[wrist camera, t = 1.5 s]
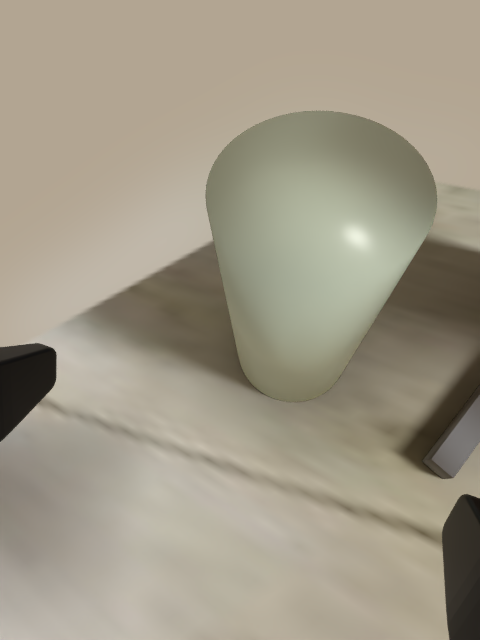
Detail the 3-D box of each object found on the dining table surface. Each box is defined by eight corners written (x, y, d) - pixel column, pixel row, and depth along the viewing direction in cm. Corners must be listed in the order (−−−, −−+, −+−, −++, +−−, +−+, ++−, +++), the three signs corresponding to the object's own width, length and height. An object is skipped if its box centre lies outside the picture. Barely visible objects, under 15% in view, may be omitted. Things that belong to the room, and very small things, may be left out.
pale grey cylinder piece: (248, 412, 21) (224, 306, 9) (229, 311, 24) (192, 131, 12) (360, 390, 21) (479, 258, 9) (328, 292, 24) (388, 95, 12)
